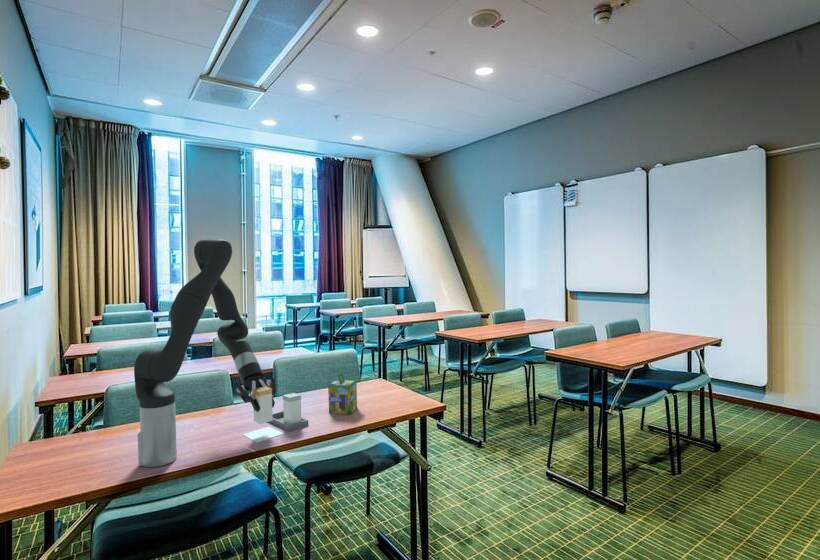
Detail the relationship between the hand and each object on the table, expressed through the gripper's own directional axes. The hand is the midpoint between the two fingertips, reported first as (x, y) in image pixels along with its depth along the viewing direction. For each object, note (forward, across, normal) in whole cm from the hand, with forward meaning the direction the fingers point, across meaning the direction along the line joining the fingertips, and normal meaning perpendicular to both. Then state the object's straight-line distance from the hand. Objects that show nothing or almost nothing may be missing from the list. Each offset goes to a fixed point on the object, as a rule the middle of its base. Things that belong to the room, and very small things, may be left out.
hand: (265, 408), depth 150 cm
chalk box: (+6, +34, +9) cm, 36 cm away
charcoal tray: (+3, +11, +11) cm, 16 cm away
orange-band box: (+2, 0, +5) cm, 5 cm away
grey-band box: (+5, +11, +8) cm, 15 cm away
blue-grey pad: (+6, 0, +8) cm, 10 cm away
